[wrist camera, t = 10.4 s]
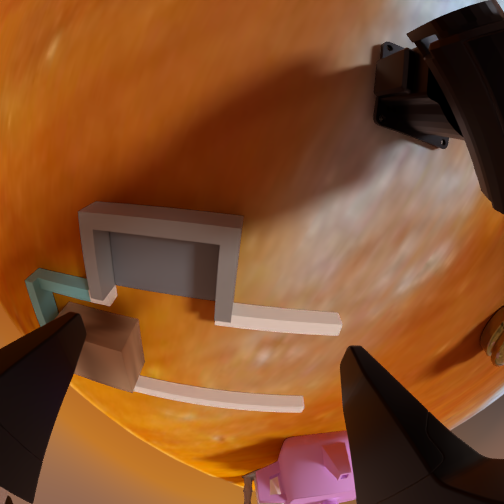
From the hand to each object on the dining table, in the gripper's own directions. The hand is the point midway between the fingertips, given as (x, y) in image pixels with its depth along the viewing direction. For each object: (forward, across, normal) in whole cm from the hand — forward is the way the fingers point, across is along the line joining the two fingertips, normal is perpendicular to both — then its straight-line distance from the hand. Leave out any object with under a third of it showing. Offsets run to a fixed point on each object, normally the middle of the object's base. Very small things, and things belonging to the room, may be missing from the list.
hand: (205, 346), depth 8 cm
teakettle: (+12, -16, +35) cm, 40 cm away
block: (+12, +12, +13) cm, 21 cm away
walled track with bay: (+12, +5, +10) cm, 16 cm away
